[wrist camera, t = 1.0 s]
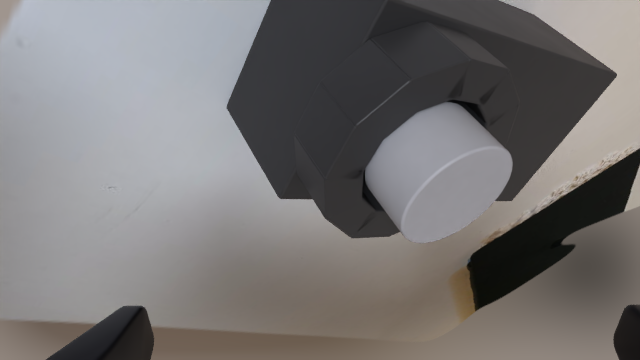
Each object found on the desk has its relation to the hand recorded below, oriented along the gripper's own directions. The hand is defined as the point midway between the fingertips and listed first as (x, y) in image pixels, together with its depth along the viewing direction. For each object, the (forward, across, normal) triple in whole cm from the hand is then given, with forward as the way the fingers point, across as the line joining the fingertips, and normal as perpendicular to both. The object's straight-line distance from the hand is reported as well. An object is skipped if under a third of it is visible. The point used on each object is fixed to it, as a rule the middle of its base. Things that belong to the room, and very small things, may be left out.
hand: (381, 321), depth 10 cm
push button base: (+14, +2, 0) cm, 14 cm away
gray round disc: (+7, +2, 0) cm, 7 cm away
